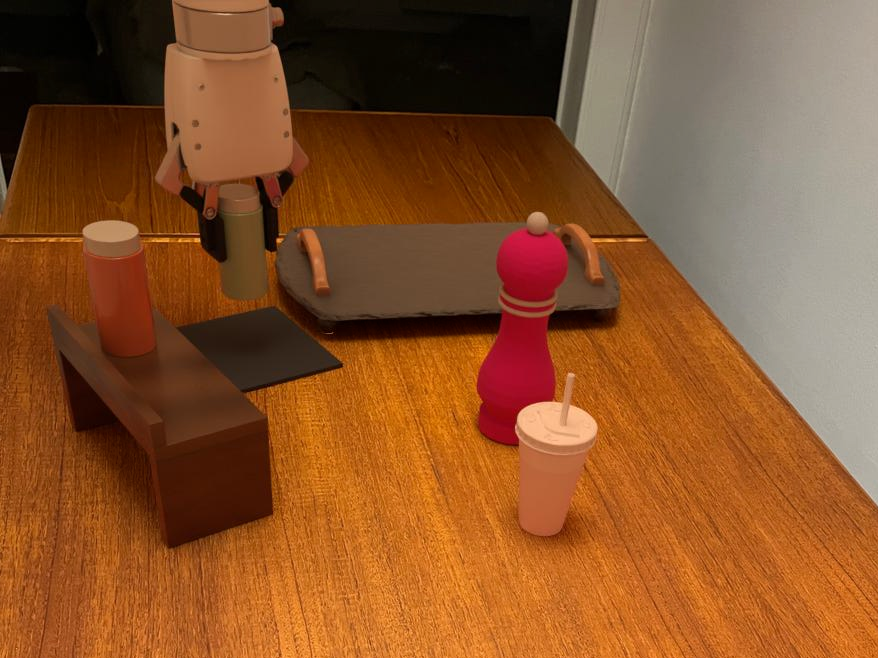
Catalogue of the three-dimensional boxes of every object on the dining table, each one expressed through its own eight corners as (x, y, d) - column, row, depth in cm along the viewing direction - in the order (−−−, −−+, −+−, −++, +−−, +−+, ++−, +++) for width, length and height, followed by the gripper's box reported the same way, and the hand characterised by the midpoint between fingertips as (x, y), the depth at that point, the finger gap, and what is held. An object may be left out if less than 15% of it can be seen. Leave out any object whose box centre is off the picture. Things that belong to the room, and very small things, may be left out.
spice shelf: (273, 513, 82) (266, 393, 74) (168, 548, 77) (150, 424, 70) (168, 400, 93) (152, 285, 85) (71, 425, 88) (45, 306, 81)
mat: (213, 401, 93) (212, 397, 93) (149, 336, 101) (149, 333, 101) (343, 366, 100) (343, 363, 100) (274, 308, 108) (274, 305, 107)
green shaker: (234, 304, 94) (225, 204, 88) (213, 286, 96) (202, 186, 90) (276, 295, 96) (270, 196, 90) (254, 277, 98) (247, 179, 92)
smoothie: (538, 555, 81) (564, 402, 71) (487, 515, 84) (505, 363, 75) (594, 529, 84) (626, 379, 75) (543, 491, 88) (567, 343, 78)
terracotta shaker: (113, 362, 79) (93, 246, 73) (91, 338, 82) (70, 224, 75) (166, 349, 81) (151, 236, 75) (143, 327, 84) (127, 215, 78)
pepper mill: (561, 424, 96) (598, 212, 82) (526, 457, 91) (558, 238, 78) (496, 399, 98) (521, 188, 85) (458, 430, 94) (477, 212, 80)
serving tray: (293, 345, 102) (291, 286, 98) (263, 250, 118) (260, 196, 114) (641, 327, 112) (652, 274, 108) (571, 242, 128) (578, 192, 124)
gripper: (292, 10, 87) (301, 222, 100) (102, 23, 79) (137, 253, 92) (337, 32, 83) (340, 250, 96) (142, 49, 75) (173, 285, 87)
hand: (241, 249), depth 93 cm, fingers closed on green shaker, 4 cm apart
